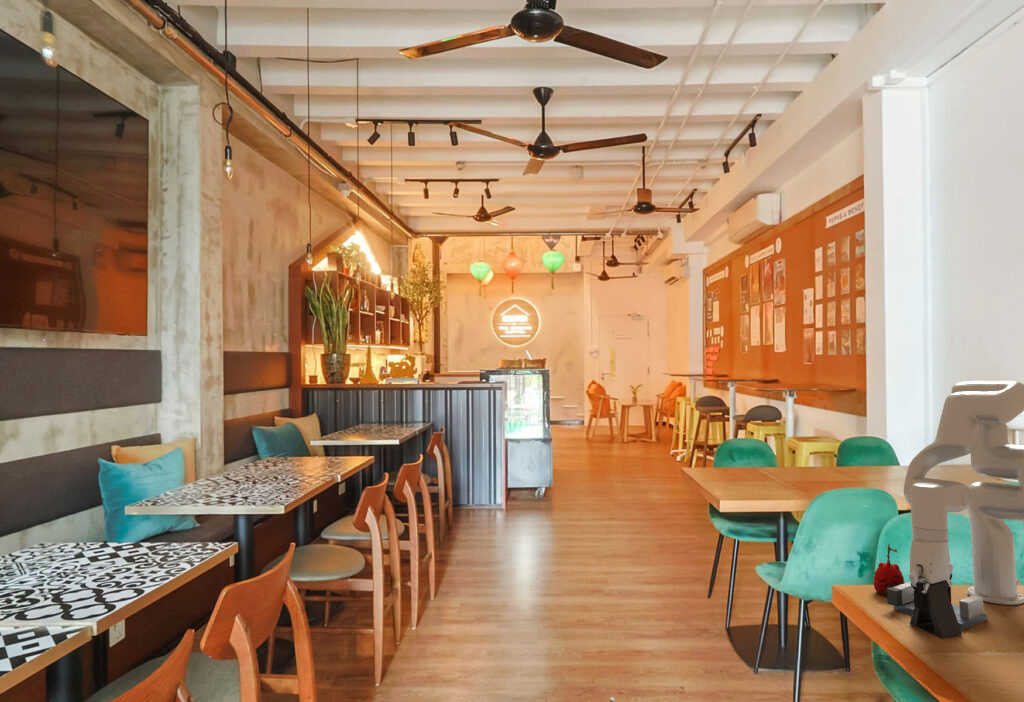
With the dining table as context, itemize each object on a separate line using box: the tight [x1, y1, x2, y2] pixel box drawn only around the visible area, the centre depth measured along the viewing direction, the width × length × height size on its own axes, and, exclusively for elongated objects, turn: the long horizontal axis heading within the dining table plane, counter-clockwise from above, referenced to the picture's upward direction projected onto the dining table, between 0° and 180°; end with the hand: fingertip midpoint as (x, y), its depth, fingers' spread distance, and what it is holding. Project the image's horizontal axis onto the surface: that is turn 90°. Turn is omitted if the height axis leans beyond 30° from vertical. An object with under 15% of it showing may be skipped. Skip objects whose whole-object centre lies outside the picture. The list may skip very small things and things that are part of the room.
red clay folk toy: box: [873, 543, 905, 597], centre depth 181 cm, size 8×7×15 cm
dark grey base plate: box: [893, 595, 988, 631], centre depth 165 cm, size 12×16×6 cm
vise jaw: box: [886, 581, 914, 607], centre depth 171 cm, size 14×2×4 cm, turn 119°
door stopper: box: [909, 580, 963, 639], centre depth 156 cm, size 9×6×12 cm, turn 15°
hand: (933, 604), depth 156 cm, fingers open, 9 cm apart
